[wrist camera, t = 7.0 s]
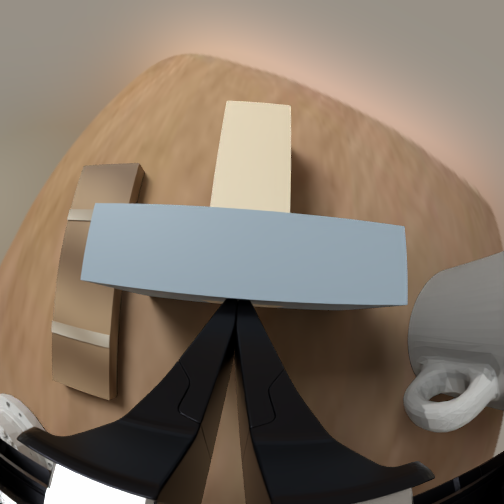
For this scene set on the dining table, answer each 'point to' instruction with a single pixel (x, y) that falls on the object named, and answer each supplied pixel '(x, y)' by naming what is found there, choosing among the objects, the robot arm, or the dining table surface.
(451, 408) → the coffee mug
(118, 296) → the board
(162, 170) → the dining table surface
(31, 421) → the mechanical component
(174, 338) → the dining table surface
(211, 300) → the light blue upright panel
